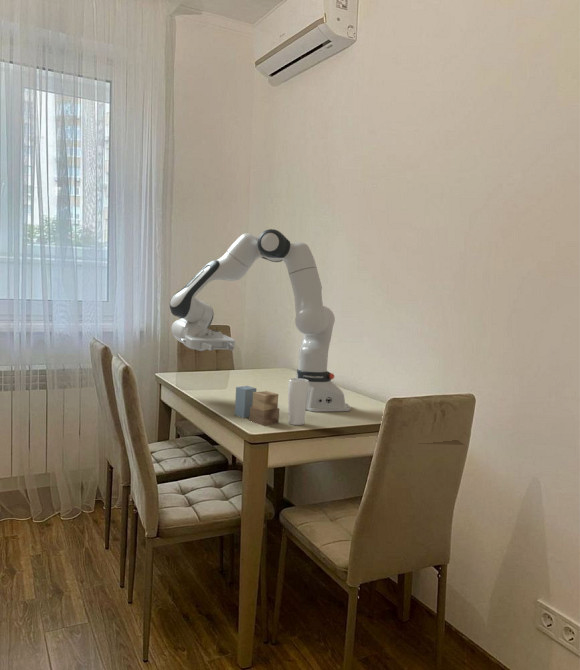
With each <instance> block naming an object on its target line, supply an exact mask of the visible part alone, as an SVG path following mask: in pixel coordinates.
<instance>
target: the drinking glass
mask: <svg viewBox="0 0 580 670" xmlns="http://www.w3.org/2000/svg"><path fill="white" fill-rule="evenodd" d="M287 387H288V389H287V392H288V399H287V400H288V402H287V403H288V423H289V424H290V425H293V426H302V425H304V424H305V418H306V417H305V416H306V404H307V398H308V389H309V380H307V379H301V378H296V377H292V378H290V379H288V386H287Z"/></svg>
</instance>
